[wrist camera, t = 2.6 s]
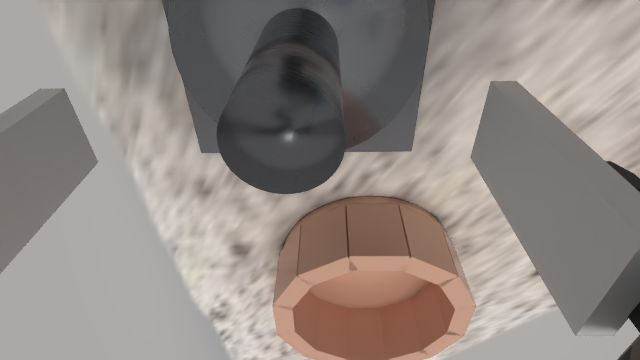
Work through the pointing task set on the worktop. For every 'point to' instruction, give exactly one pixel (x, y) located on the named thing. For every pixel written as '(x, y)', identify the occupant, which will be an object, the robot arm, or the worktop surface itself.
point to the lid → (297, 78)
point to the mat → (386, 140)
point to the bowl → (370, 283)
